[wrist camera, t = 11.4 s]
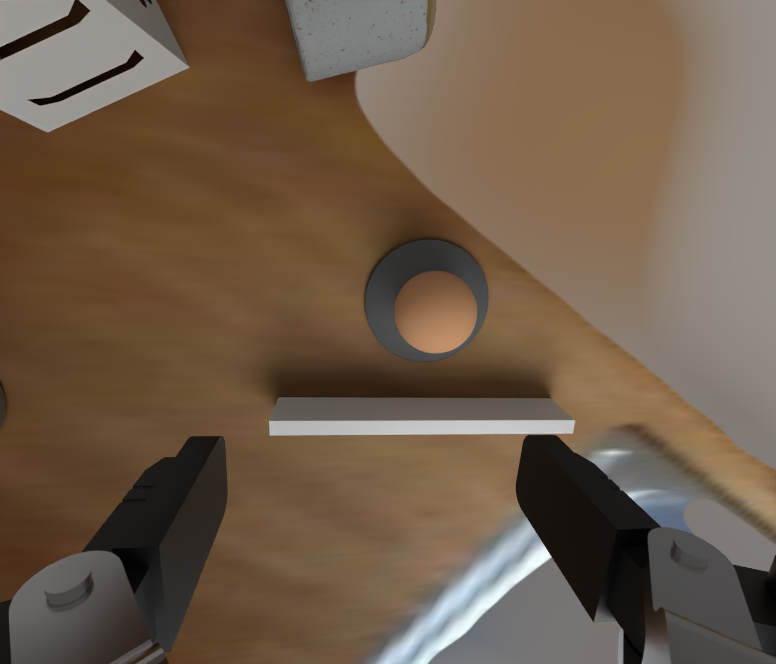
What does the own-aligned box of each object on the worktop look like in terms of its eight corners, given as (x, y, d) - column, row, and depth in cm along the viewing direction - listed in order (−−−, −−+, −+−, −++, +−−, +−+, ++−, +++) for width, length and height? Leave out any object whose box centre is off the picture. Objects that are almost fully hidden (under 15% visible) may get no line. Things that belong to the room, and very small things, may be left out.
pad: (420, 383, 34) (421, 384, 34) (339, 300, 31) (338, 300, 31) (510, 304, 33) (512, 305, 32) (433, 211, 30) (434, 211, 30)
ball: (423, 353, 33) (439, 382, 27) (374, 301, 31) (380, 321, 25) (478, 304, 32) (506, 324, 26) (431, 249, 30) (450, 257, 25)
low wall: (279, 410, 33) (269, 435, 30) (278, 397, 33) (269, 421, 29) (548, 410, 36) (572, 433, 32) (551, 398, 35) (575, 420, 32)
